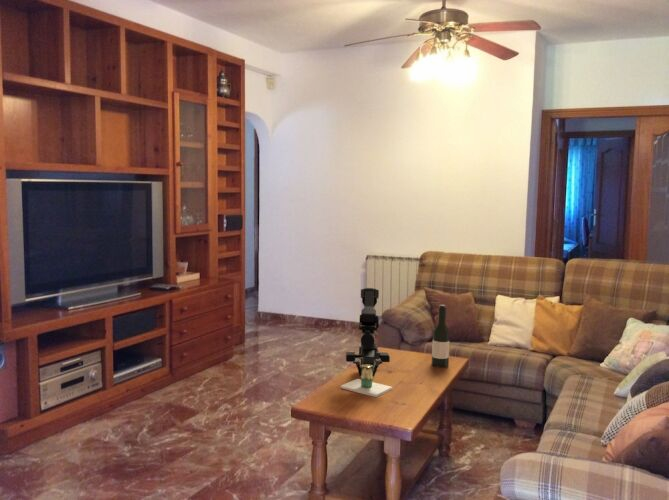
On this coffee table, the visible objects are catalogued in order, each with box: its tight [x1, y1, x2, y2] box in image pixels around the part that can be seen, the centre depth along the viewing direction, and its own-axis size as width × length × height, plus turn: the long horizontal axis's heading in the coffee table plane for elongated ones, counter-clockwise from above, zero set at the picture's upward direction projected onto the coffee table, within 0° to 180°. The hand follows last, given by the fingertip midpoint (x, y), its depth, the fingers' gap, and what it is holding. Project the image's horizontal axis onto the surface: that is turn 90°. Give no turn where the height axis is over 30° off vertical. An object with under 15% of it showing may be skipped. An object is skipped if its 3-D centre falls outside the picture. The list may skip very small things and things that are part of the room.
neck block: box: [340, 377, 393, 398], centre depth 267 cm, size 18×13×5 cm
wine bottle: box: [431, 304, 451, 368], centre depth 303 cm, size 8×8×30 cm
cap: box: [360, 364, 374, 380], centre depth 266 cm, size 5×6×5 cm
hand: (366, 376), depth 267 cm, fingers closed on cap, 5 cm apart
